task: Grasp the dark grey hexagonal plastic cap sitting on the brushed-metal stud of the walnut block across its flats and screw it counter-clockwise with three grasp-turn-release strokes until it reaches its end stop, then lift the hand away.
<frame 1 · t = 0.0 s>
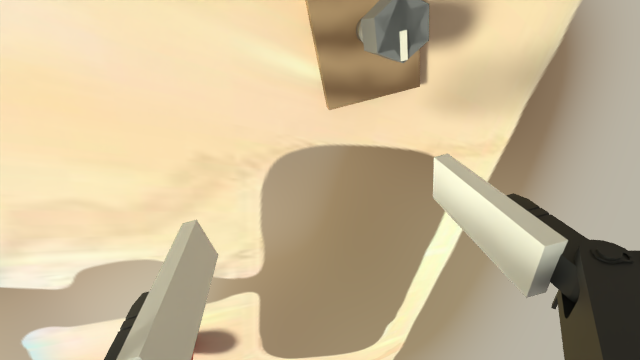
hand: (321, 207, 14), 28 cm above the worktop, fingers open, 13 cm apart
stud block: (363, 29, 35), on the worktop
cap: (393, 29, 26), point 11 cm above the worktop, hinge at 0.0°
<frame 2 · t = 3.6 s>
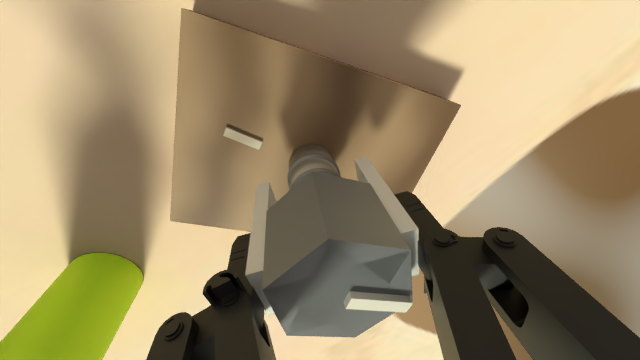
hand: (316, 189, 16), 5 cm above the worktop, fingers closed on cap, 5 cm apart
stud block: (307, 153, 20), on the worktop
cap: (333, 254, 11), point 11 cm above the worktop, hinge at 0.0°, touching gripper
soap dispenser: (102, 271, 23), on the worktop
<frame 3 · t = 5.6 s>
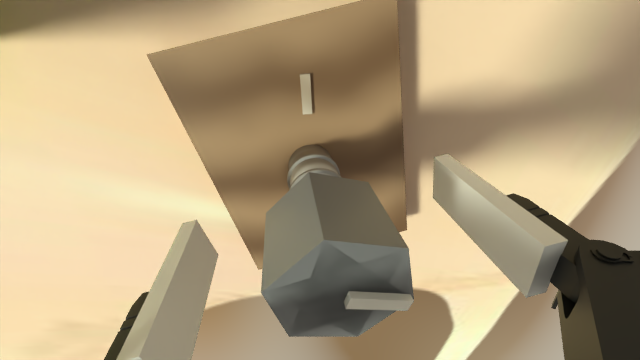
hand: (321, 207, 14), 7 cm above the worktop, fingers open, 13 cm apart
stud block: (307, 153, 20), on the worktop
cap: (333, 254, 11), point 11 cm above the worktop, hinge at 62.5°
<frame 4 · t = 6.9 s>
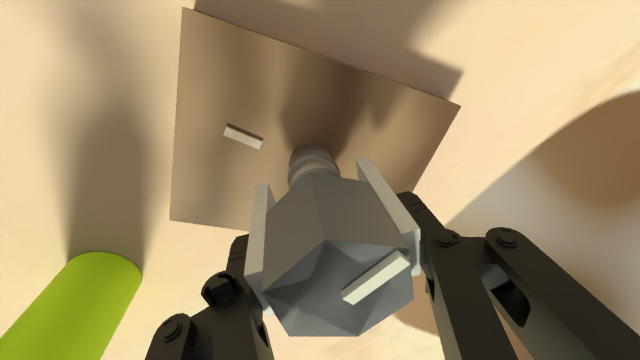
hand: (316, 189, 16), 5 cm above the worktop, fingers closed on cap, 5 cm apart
stud block: (307, 153, 20), on the worktop
cap: (333, 254, 11), point 11 cm above the worktop, hinge at 62.8°, touching gripper
soap dispenser: (101, 270, 23), on the worktop
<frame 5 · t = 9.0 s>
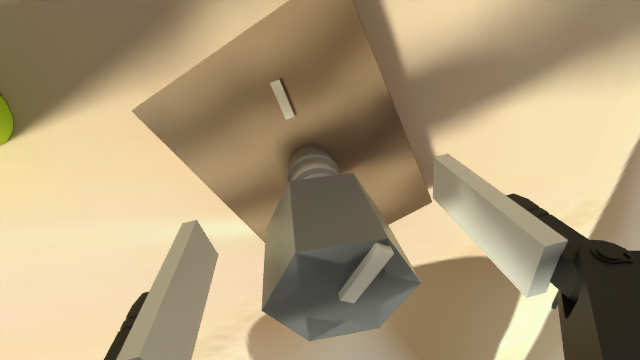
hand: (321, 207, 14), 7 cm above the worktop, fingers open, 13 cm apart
stud block: (307, 153, 20), on the worktop
cap: (333, 254, 11), point 11 cm above the worktop, hinge at 124.0°
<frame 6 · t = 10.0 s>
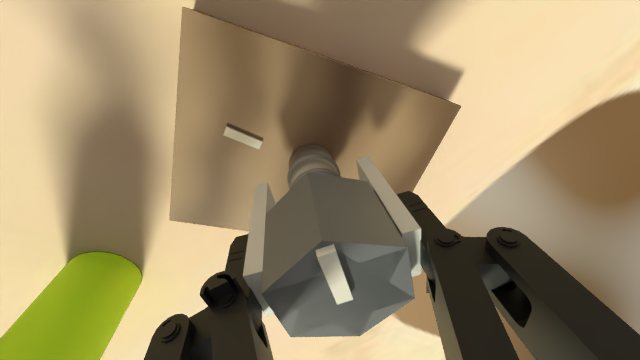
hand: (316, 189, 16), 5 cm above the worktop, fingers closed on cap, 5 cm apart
stud block: (307, 153, 20), on the worktop
cap: (333, 254, 11), point 11 cm above the worktop, hinge at 124.2°, touching gripper
soap dispenser: (101, 270, 23), on the worktop
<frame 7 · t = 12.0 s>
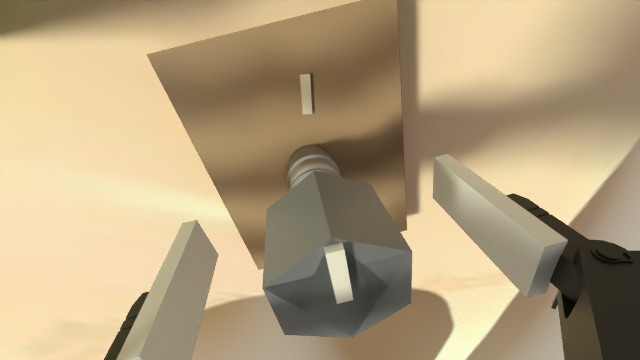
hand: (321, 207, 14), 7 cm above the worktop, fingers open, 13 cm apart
stud block: (307, 153, 20), on the worktop
cap: (333, 254, 11), point 11 cm above the worktop, hinge at 177.9°
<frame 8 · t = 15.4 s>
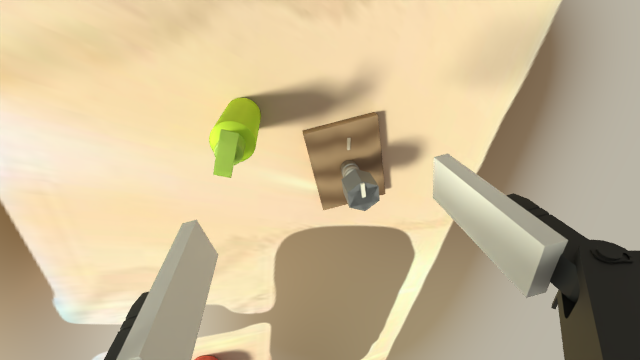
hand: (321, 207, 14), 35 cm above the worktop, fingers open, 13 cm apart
stud block: (345, 162, 53), on the worktop
cap: (360, 190, 44), point 11 cm above the worktop, hinge at 178.2°
soap dispenser: (244, 111, 45), on the worktop
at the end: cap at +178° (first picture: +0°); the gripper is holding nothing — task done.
